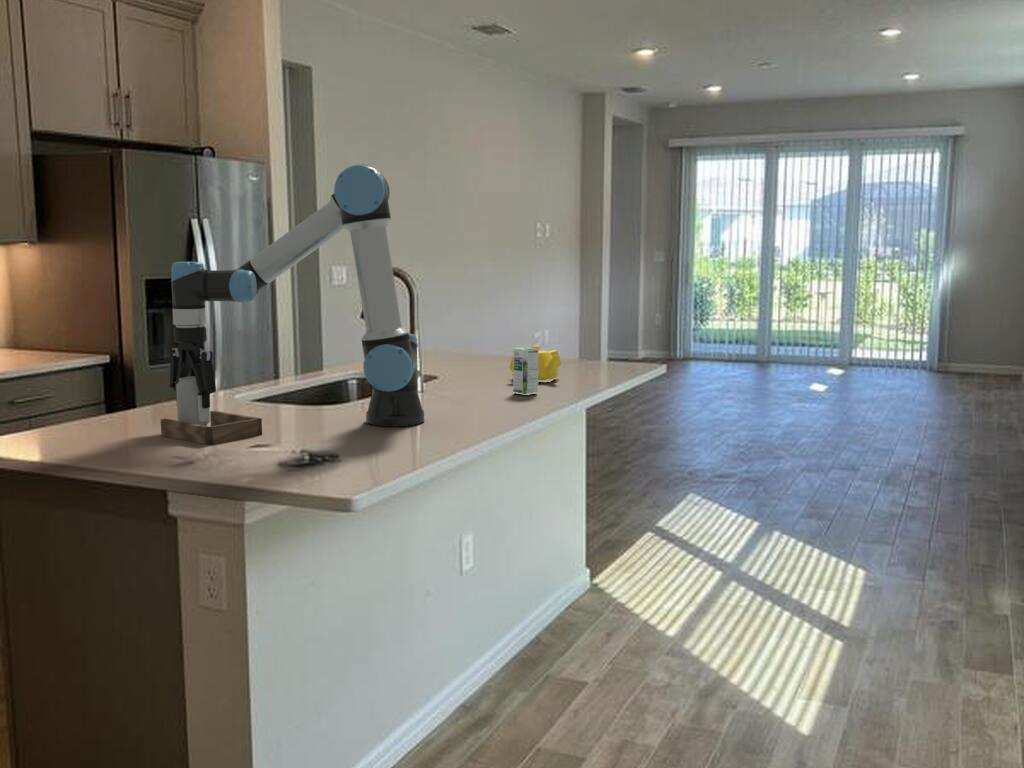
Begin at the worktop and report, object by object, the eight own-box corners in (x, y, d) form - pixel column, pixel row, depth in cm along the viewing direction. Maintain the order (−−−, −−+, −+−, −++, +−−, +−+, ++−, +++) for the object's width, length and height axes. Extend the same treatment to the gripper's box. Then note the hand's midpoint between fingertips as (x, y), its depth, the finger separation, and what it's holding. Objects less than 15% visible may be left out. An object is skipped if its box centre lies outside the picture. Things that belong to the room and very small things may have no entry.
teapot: (560, 378, 337) (561, 343, 336) (559, 384, 321) (559, 348, 319) (512, 377, 339) (512, 343, 337) (508, 383, 322) (509, 348, 320)
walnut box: (262, 434, 234) (261, 418, 234) (208, 445, 222) (208, 427, 221) (214, 426, 245) (214, 410, 244) (161, 435, 232) (160, 419, 232)
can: (198, 421, 242) (196, 374, 241) (216, 425, 238) (214, 377, 236) (171, 426, 237) (169, 377, 235) (189, 429, 232) (187, 380, 230)
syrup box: (512, 394, 300) (512, 347, 298) (526, 392, 304) (526, 346, 302) (524, 396, 295) (525, 349, 293) (538, 394, 299) (539, 347, 297)
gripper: (229, 327, 231) (233, 421, 234) (177, 322, 242) (181, 412, 246) (203, 329, 225) (207, 426, 228) (151, 324, 236) (155, 416, 240)
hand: (193, 419), depth 237 cm, fingers closed on can, 7 cm apart
